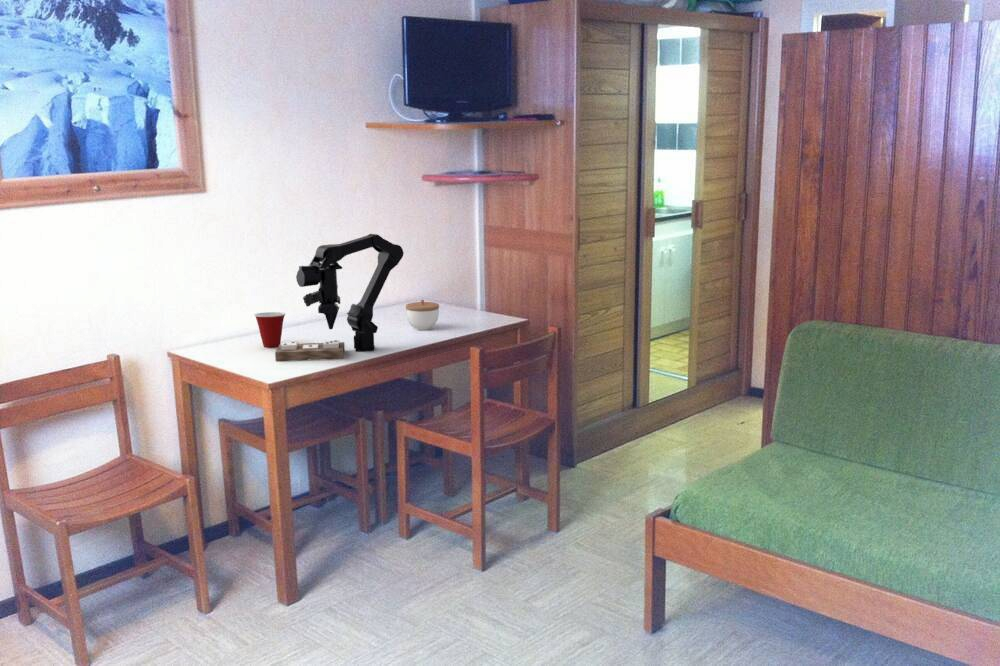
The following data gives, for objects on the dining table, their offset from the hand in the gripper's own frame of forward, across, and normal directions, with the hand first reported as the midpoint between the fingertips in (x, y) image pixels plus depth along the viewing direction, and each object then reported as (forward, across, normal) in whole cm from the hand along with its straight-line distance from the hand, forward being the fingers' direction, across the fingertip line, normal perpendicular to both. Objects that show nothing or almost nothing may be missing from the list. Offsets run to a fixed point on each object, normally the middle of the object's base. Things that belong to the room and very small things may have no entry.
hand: (330, 329), depth 321 cm
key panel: (+9, 0, -7) cm, 11 cm away
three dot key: (+6, 0, 0) cm, 6 cm away
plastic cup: (+9, -17, -22) cm, 29 cm away
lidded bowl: (+10, -39, +32) cm, 51 cm away
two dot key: (+6, 0, -14) cm, 15 cm away
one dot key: (+7, 0, -7) cm, 10 cm away
